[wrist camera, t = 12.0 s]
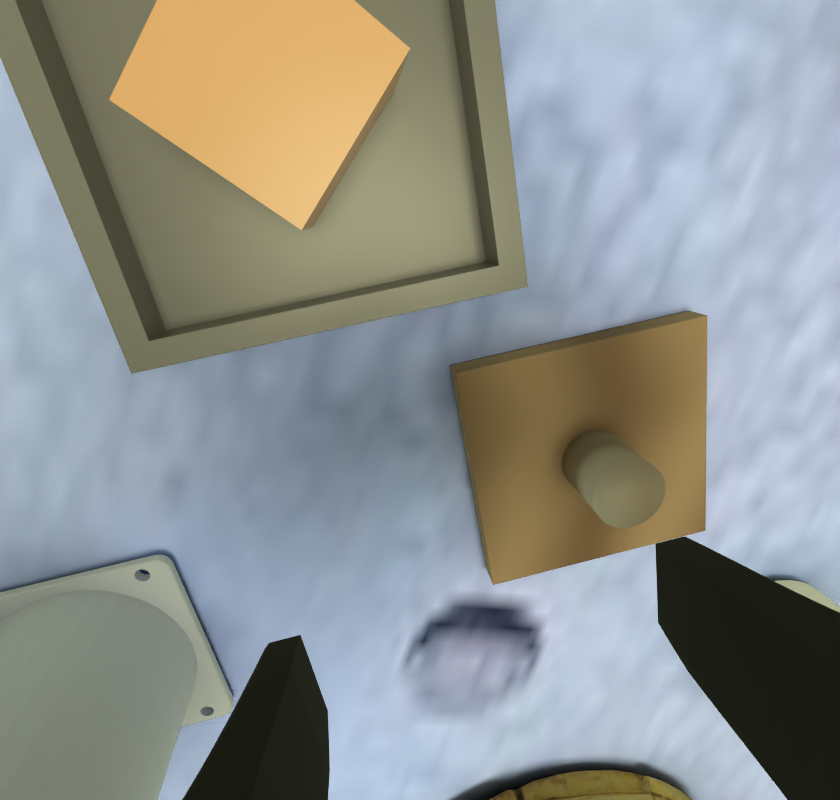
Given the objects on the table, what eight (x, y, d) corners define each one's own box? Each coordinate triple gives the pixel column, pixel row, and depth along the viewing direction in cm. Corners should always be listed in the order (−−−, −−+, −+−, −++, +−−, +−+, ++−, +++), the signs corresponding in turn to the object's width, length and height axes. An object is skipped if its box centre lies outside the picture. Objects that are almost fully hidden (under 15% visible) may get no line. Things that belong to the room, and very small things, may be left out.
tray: (154, 357, 17) (131, 373, 15) (-30, -112, 12) (-93, -166, 11) (509, 279, 17) (527, 286, 16) (449, -187, 13) (465, -250, 11)
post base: (486, 568, 21) (514, 636, 18) (450, 365, 18) (474, 399, 15) (690, 517, 22) (754, 573, 18) (689, 310, 19) (767, 331, 15)
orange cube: (170, 131, 14) (108, 99, 11) (251, -25, 13) (214, -120, 10) (311, 227, 16) (302, 230, 12) (393, 92, 15) (410, 48, 11)
